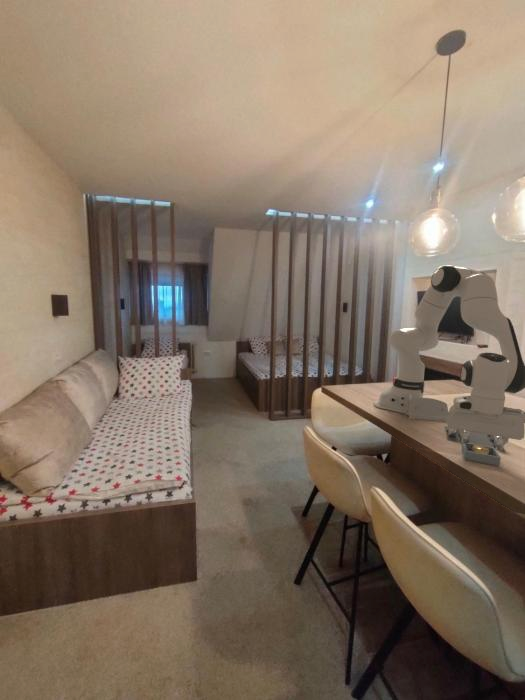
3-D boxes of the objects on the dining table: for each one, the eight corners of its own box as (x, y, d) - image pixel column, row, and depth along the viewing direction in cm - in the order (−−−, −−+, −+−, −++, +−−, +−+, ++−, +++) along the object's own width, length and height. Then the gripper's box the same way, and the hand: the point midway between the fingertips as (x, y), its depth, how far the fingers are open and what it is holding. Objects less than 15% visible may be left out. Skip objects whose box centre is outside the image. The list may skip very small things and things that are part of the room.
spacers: (448, 439, 114) (450, 429, 113) (446, 427, 126) (447, 418, 125) (503, 449, 107) (504, 438, 106) (494, 436, 119) (496, 426, 118)
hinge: (408, 418, 137) (408, 395, 139) (406, 418, 141) (406, 396, 143) (450, 423, 132) (450, 399, 134) (447, 423, 137) (447, 400, 139)
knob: (473, 458, 99) (475, 449, 99) (469, 452, 103) (470, 444, 103) (490, 461, 98) (491, 452, 97) (485, 455, 102) (486, 446, 101)
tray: (464, 459, 99) (465, 451, 99) (461, 450, 106) (462, 441, 106) (499, 467, 95) (500, 457, 95) (493, 456, 102) (494, 447, 102)
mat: (447, 441, 113) (447, 440, 113) (444, 427, 128) (444, 426, 127) (505, 452, 106) (505, 451, 106) (495, 435, 120) (495, 434, 120)
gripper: (524, 407, 97) (518, 449, 99) (448, 397, 106) (444, 436, 108) (531, 413, 91) (524, 457, 93) (450, 402, 100) (445, 442, 102)
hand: (480, 446), depth 100 cm, fingers open, 8 cm apart
